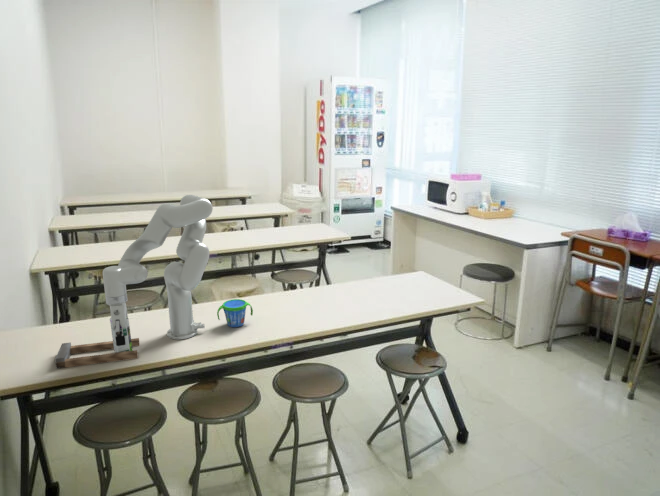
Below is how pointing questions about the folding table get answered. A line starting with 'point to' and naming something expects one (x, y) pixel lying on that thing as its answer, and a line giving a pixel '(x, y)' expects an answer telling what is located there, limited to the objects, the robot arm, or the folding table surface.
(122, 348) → the syrup box
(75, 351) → the guide channel
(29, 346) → the folding table surface
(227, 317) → the snack cup
